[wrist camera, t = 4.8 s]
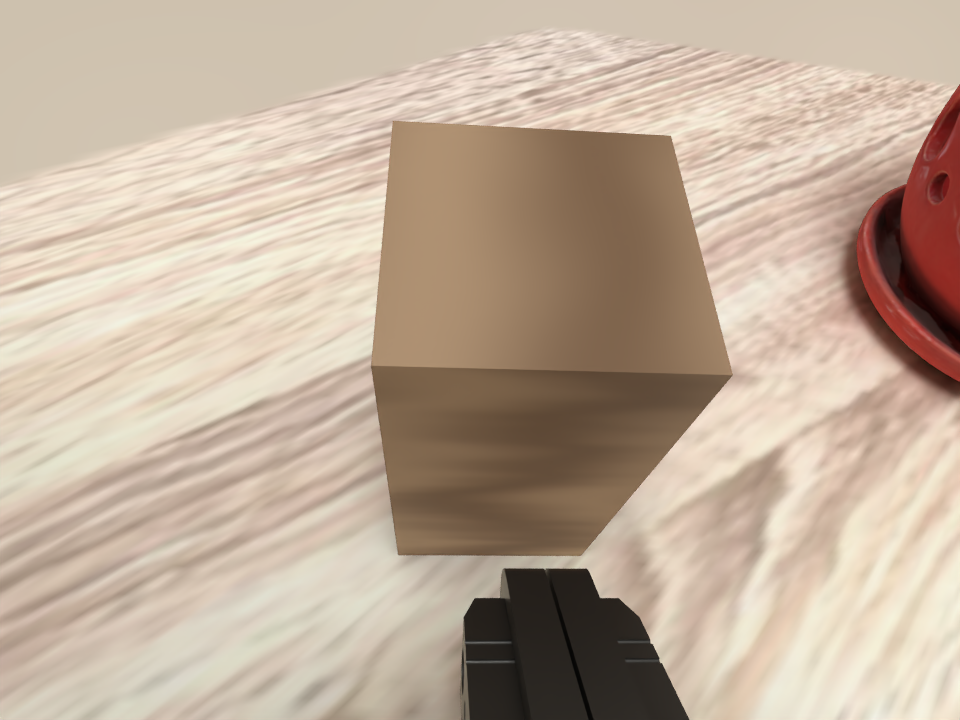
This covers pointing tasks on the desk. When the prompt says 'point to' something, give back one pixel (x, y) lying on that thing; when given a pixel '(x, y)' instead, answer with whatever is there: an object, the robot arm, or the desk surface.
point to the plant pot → (920, 249)
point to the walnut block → (534, 333)
